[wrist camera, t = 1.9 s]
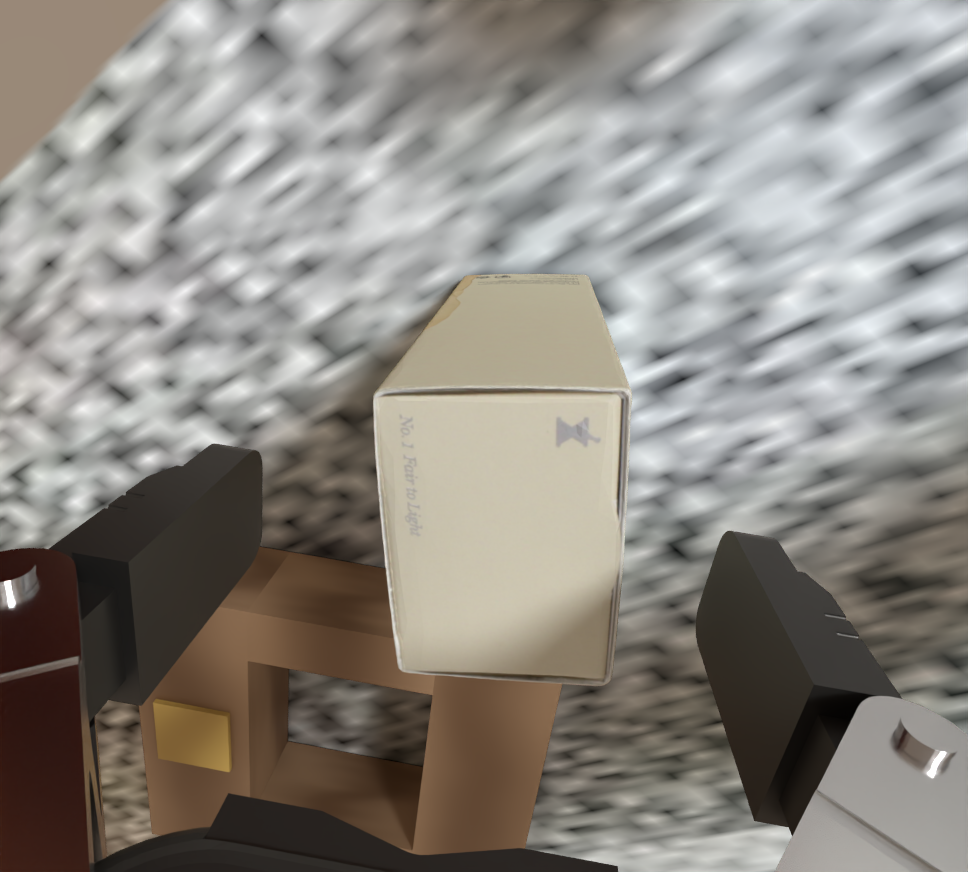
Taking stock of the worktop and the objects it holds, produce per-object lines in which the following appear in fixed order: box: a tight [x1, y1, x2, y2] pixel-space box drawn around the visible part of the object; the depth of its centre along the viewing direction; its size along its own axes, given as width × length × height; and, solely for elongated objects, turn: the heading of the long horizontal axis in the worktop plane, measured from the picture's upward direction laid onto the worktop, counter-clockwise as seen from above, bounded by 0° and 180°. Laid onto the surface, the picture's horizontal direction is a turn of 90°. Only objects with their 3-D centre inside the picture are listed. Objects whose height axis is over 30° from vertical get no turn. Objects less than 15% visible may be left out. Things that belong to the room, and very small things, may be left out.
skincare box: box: [373, 274, 632, 686], centre depth 17 cm, size 6×4×12 cm
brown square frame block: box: [139, 547, 562, 855], centre depth 27 cm, size 16×13×4 cm
